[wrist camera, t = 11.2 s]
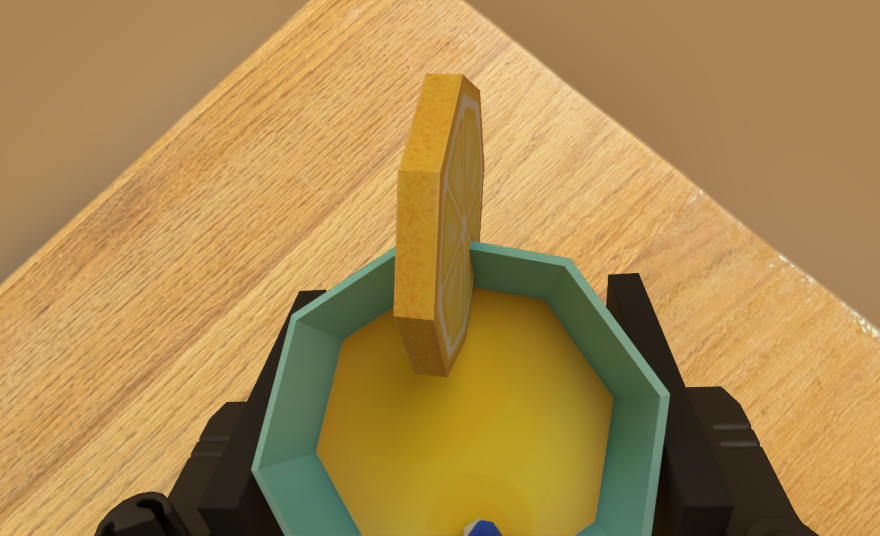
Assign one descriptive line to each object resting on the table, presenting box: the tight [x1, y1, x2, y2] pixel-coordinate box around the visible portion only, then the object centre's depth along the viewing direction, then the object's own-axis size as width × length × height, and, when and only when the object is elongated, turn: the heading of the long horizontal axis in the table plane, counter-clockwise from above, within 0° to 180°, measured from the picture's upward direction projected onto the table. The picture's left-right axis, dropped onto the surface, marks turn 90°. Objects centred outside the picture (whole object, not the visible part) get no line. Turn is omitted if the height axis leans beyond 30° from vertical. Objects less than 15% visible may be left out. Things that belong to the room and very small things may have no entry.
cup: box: [251, 74, 670, 536], centre depth 13 cm, size 14×8×15 cm, turn 11°
